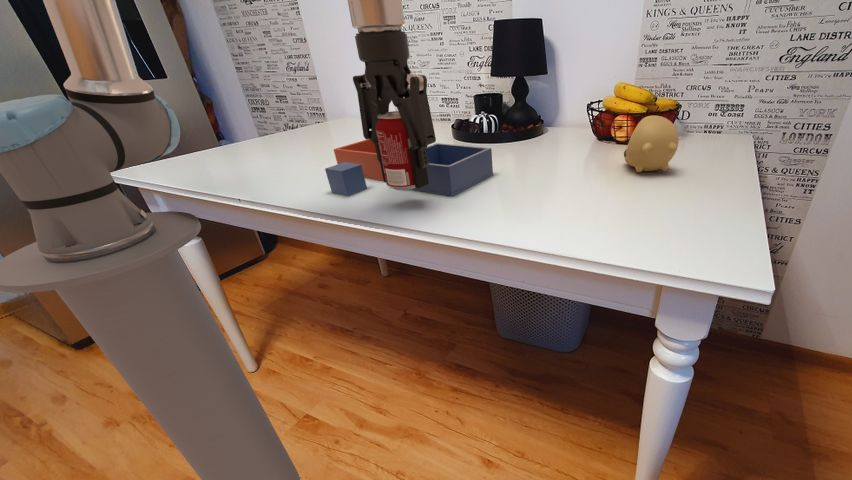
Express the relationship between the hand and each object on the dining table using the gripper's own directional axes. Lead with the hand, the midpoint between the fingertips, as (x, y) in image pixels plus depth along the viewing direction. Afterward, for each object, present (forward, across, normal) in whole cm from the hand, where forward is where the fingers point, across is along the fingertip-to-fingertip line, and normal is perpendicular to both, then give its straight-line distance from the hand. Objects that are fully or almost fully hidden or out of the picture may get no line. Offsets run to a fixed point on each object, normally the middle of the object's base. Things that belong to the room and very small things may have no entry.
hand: (406, 182), depth 71 cm
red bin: (+4, +23, -16) cm, 28 cm away
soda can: (+1, 0, 0) cm, 1 cm away
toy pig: (+4, -33, -36) cm, 49 cm away
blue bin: (+4, +3, -14) cm, 15 cm away
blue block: (+4, +18, -1) cm, 18 cm away
